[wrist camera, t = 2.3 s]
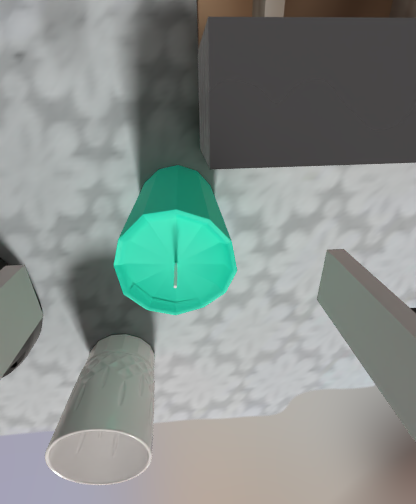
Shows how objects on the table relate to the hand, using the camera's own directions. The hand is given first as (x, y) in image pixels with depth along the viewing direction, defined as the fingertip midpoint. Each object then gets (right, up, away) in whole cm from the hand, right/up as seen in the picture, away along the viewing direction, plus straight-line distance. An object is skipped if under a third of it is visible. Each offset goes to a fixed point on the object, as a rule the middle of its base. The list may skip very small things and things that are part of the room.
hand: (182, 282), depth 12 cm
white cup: (-8, -10, +18) cm, 22 cm away
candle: (-1, +6, +10) cm, 12 cm away
